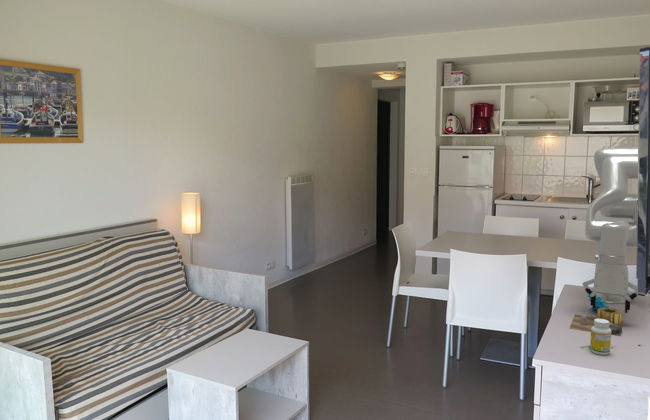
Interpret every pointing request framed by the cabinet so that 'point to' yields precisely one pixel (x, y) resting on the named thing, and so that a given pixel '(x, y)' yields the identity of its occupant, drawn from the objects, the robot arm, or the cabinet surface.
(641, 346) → the cabinet surface
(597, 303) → the gear
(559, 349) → the cabinet surface
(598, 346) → the supplement bottle
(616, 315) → the brass gear
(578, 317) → the gear board
